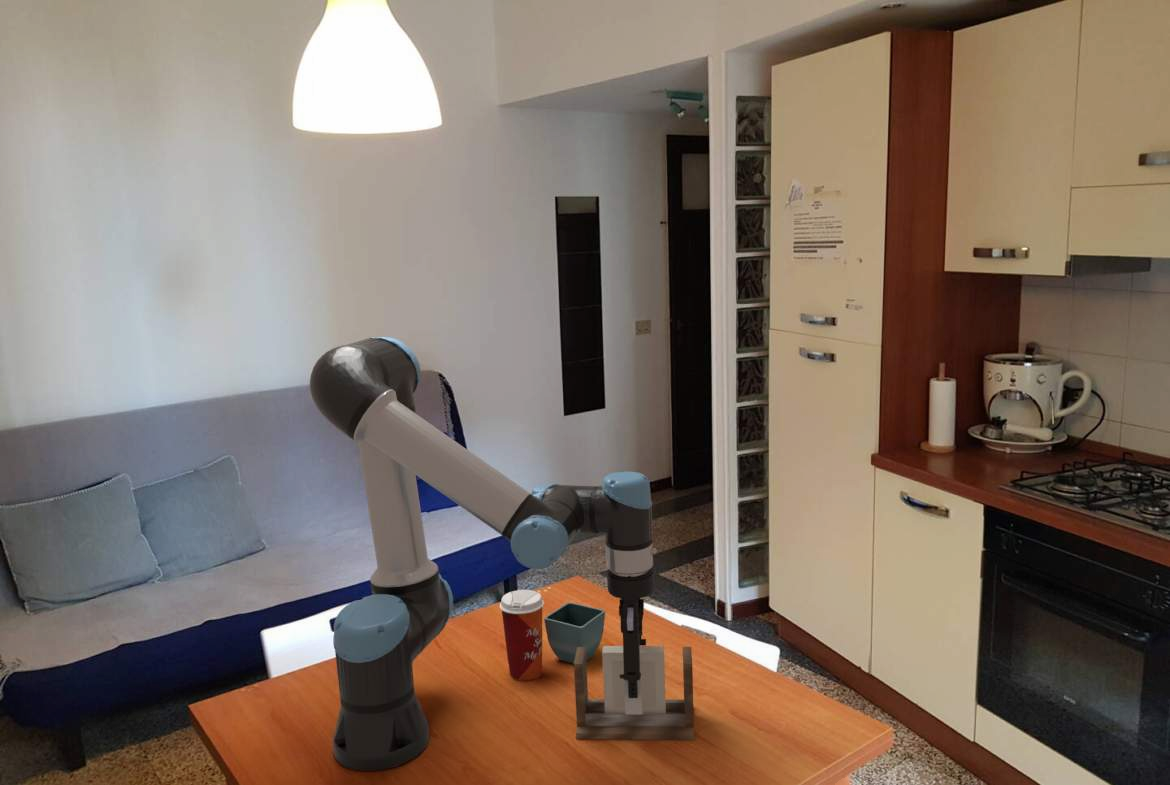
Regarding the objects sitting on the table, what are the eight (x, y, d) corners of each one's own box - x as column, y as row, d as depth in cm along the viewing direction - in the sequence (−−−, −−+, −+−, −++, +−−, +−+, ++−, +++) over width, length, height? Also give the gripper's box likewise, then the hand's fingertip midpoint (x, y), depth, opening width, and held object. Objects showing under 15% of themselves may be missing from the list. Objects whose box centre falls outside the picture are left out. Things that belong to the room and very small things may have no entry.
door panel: (605, 720, 147) (602, 653, 145) (606, 712, 150) (603, 646, 147) (665, 721, 146) (663, 653, 144) (665, 713, 149) (663, 645, 147)
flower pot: (608, 653, 173) (606, 609, 171) (583, 672, 166) (581, 627, 164) (570, 643, 178) (568, 601, 176) (545, 662, 170) (542, 618, 169)
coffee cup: (541, 685, 162) (537, 607, 159) (498, 682, 163) (493, 605, 161) (552, 663, 170) (548, 588, 167) (511, 660, 172) (506, 587, 169)
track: (576, 738, 144) (572, 669, 142) (581, 706, 154) (578, 641, 152) (694, 739, 142) (692, 670, 140) (692, 707, 152) (690, 641, 150)
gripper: (652, 595, 132) (657, 734, 136) (654, 544, 154) (658, 666, 158) (602, 595, 133) (608, 734, 137) (610, 545, 154) (615, 666, 158)
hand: (634, 697), depth 147 cm, fingers open, 9 cm apart
